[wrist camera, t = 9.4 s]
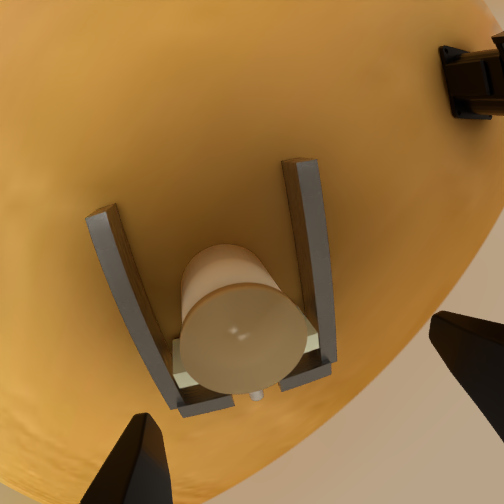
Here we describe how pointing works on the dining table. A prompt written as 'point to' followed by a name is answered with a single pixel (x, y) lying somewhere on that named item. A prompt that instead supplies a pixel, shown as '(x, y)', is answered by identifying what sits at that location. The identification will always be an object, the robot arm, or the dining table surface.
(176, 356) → the pusher
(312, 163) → the grey u-shaped frame
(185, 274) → the jar
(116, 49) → the dining table surface
